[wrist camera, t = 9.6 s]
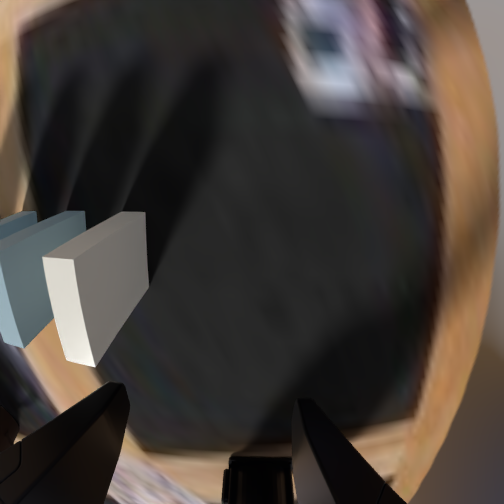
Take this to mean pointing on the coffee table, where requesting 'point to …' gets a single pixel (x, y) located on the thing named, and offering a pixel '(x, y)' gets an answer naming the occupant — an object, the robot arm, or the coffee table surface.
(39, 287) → the domino
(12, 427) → the coffee mug
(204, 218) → the coffee table surface
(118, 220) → the domino
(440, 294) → the coffee table surface
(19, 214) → the domino
